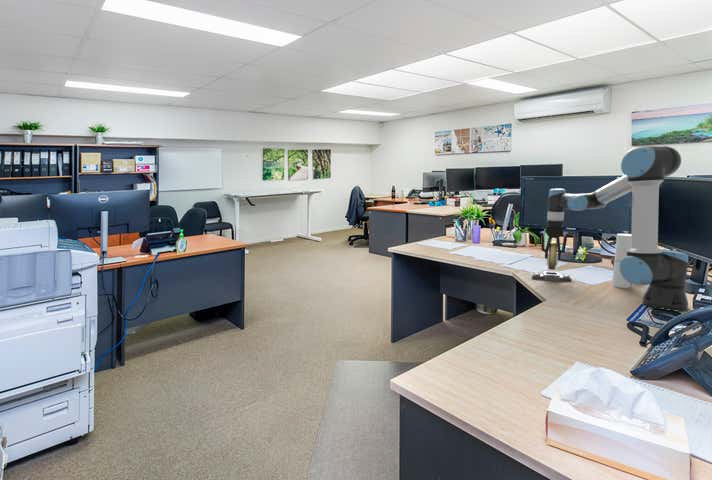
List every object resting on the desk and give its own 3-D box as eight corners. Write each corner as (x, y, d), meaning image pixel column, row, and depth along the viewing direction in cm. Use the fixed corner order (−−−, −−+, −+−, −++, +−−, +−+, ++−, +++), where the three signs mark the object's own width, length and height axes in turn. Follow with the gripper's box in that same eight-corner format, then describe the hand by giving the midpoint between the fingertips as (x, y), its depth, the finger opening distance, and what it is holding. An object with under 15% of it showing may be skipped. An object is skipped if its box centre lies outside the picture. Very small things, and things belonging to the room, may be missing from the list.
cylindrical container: (608, 284, 202) (613, 234, 197) (619, 283, 204) (624, 233, 199) (621, 288, 195) (626, 236, 190) (633, 287, 197) (638, 235, 192)
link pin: (557, 268, 212) (559, 242, 209) (553, 270, 209) (555, 243, 207) (549, 267, 215) (551, 241, 213) (545, 268, 212) (547, 242, 210)
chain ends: (569, 278, 213) (570, 272, 213) (571, 282, 207) (572, 276, 206) (531, 275, 219) (532, 270, 219) (532, 279, 213) (532, 273, 212)
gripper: (572, 219, 208) (568, 264, 212) (537, 218, 214) (534, 262, 218) (574, 221, 201) (570, 268, 206) (537, 220, 207) (534, 265, 211)
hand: (551, 265), depth 212 cm, fingers closed on link pin, 3 cm apart
